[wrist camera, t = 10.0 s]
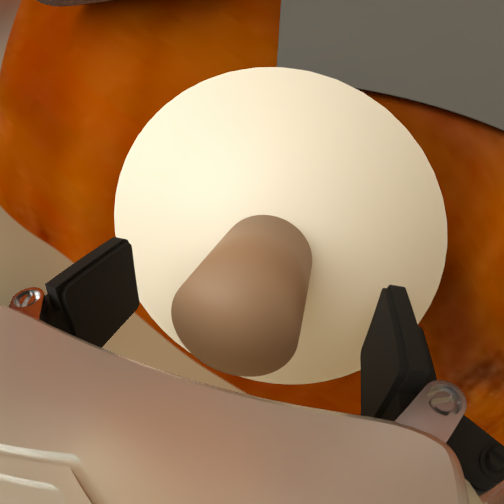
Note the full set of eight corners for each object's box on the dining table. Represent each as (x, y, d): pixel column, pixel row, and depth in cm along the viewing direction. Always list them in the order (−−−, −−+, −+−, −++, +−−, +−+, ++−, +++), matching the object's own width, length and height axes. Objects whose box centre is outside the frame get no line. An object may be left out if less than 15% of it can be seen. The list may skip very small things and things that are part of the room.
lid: (467, 108, 9) (552, 111, 4) (383, 385, 16) (386, 471, 11) (124, 78, 12) (27, 77, 7) (143, 335, 19) (94, 399, 14)
